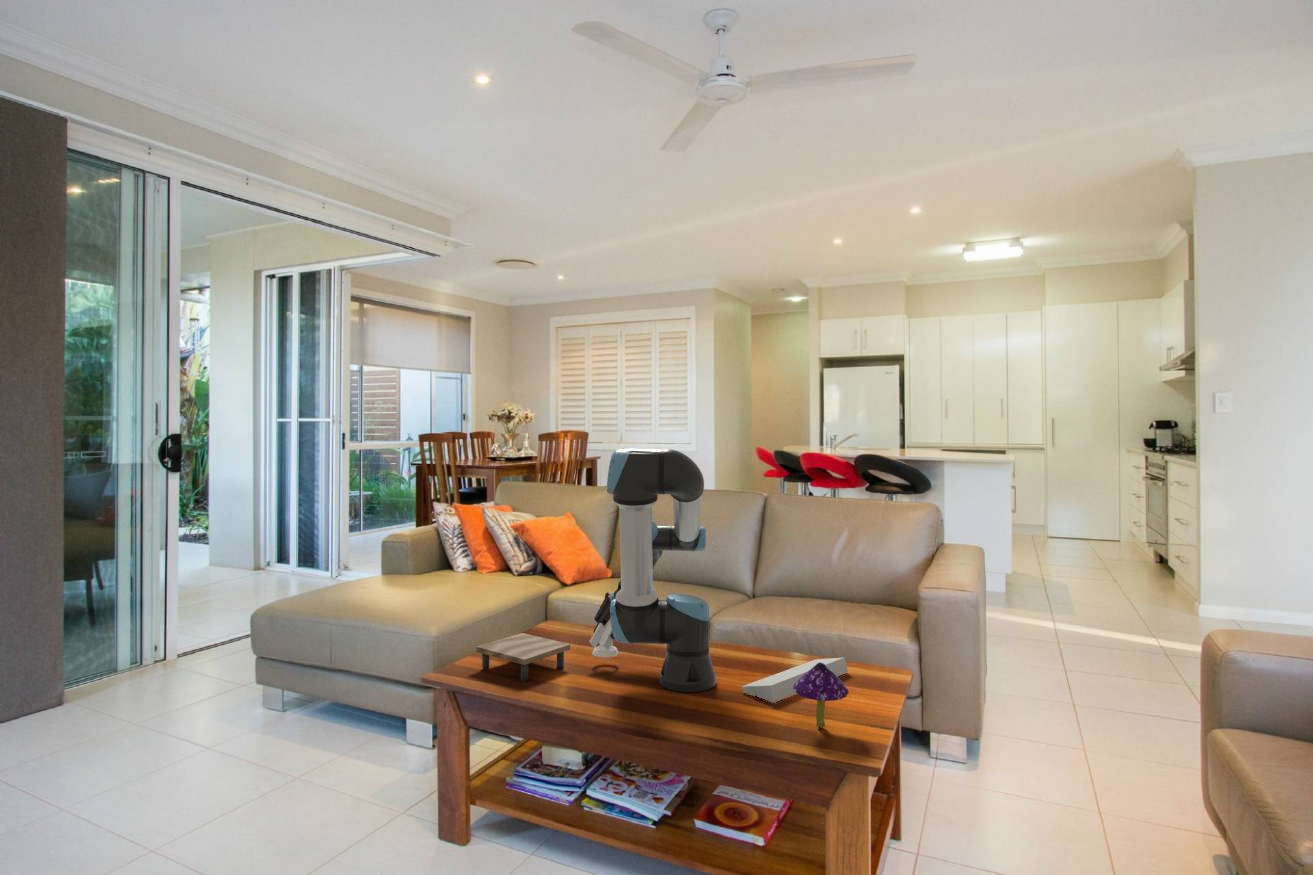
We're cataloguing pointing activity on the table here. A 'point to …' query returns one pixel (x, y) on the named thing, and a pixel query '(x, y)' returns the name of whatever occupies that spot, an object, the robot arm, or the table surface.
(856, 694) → the table surface
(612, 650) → the white ring with handle
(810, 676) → the decorative mushroom
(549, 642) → the small wooden table
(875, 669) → the table surface
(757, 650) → the table surface
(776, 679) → the decorative molding
